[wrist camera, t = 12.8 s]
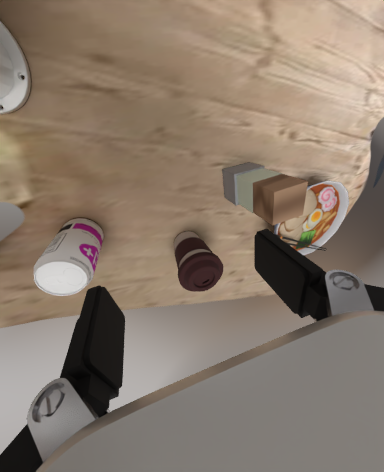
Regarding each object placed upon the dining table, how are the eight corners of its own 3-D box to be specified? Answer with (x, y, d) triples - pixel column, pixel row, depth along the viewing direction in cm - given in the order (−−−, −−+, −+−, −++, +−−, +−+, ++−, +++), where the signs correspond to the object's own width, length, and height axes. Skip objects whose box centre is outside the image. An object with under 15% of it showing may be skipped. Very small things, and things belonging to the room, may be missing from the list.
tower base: (222, 169, 42) (234, 174, 37) (249, 162, 43) (264, 166, 38) (224, 197, 46) (235, 205, 41) (249, 190, 47) (263, 197, 42)
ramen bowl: (340, 189, 55) (369, 197, 49) (297, 249, 64) (317, 263, 57) (285, 160, 45) (312, 165, 38) (243, 237, 54) (259, 252, 47)
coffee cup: (170, 225, 45) (184, 261, 33) (206, 226, 48) (231, 259, 36) (167, 257, 50) (178, 299, 37) (200, 256, 53) (220, 294, 40)
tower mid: (236, 175, 37) (252, 182, 32) (262, 167, 38) (282, 173, 33) (238, 203, 40) (252, 213, 35) (262, 195, 41) (280, 204, 36)
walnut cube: (252, 182, 32) (274, 192, 27) (281, 173, 33) (308, 181, 28) (252, 212, 35) (272, 225, 30) (279, 203, 36) (302, 214, 31)
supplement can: (99, 215, 39) (83, 254, 27) (107, 246, 43) (97, 292, 31) (56, 218, 37) (18, 262, 25) (69, 251, 41) (42, 303, 29)
